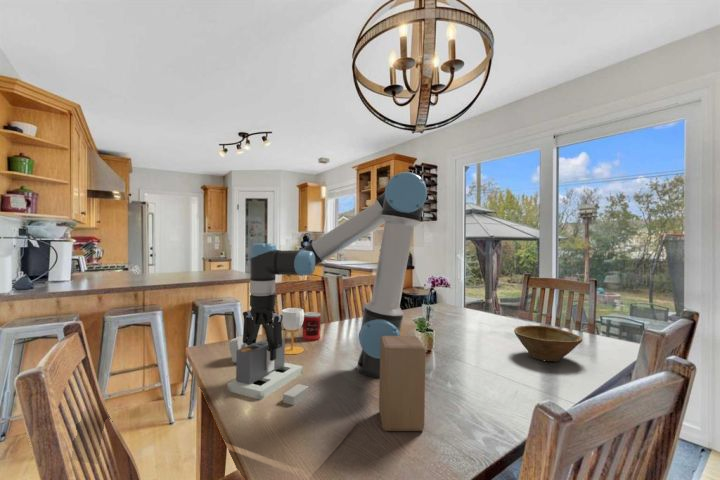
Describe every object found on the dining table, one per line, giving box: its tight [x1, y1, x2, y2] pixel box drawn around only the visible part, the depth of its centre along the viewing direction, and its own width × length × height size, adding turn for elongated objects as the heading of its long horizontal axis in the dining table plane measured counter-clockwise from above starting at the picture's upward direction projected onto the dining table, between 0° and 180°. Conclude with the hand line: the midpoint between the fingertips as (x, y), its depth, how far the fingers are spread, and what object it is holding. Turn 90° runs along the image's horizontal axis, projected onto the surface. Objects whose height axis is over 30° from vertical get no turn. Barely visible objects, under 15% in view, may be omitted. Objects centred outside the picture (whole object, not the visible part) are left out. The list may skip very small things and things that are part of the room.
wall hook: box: [228, 334, 248, 364], centre depth 121 cm, size 8×10×10 cm
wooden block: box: [378, 335, 427, 432], centre depth 83 cm, size 10×10×20 cm
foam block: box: [282, 383, 310, 406], centre depth 93 cm, size 4×7×3 cm, turn 156°
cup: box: [280, 307, 305, 356], centre depth 133 cm, size 9×9×16 cm
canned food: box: [302, 311, 321, 342], centre depth 149 cm, size 8×8×11 cm
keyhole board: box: [227, 362, 304, 401], centre depth 103 cm, size 12×20×3 cm, turn 156°
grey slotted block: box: [235, 337, 286, 385], centre depth 104 cm, size 5×16×12 cm, turn 156°
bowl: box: [513, 324, 583, 362], centre depth 129 cm, size 22×23×10 cm
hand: (261, 368), depth 104 cm, fingers open, 6 cm apart
